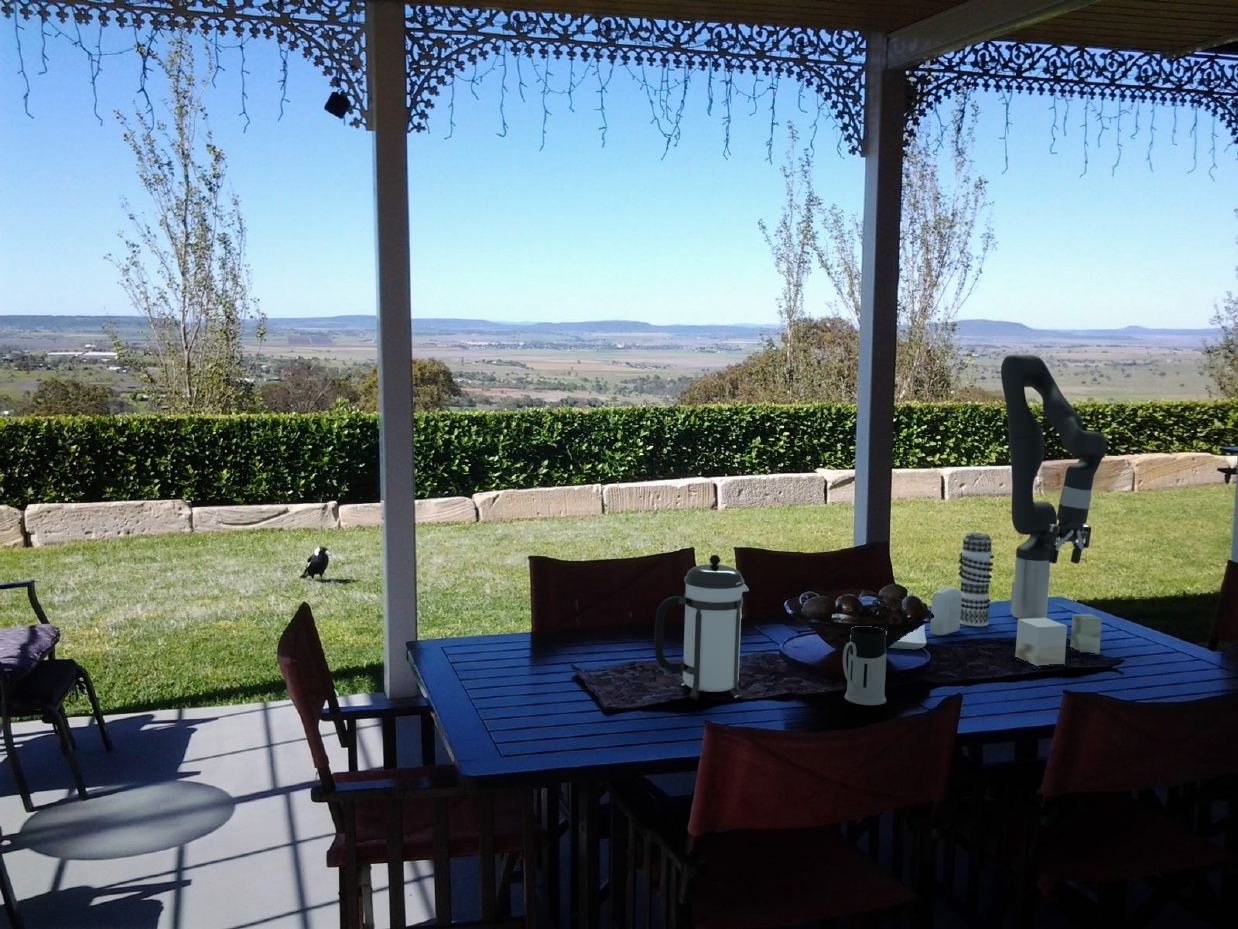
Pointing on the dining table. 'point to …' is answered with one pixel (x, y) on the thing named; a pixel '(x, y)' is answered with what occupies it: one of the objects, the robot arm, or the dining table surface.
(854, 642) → the glass holder
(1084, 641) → the sage block
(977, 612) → the decorative candle
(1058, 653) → the ash block
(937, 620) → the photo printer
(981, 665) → the dining table surface
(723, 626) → the coffee press
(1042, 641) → the grey block
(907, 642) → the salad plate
